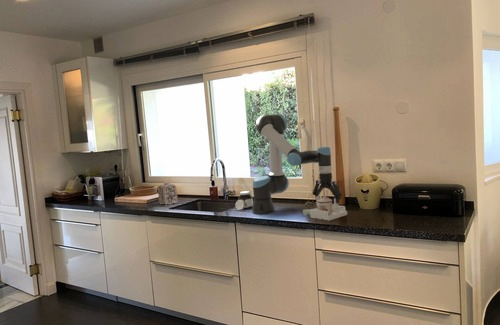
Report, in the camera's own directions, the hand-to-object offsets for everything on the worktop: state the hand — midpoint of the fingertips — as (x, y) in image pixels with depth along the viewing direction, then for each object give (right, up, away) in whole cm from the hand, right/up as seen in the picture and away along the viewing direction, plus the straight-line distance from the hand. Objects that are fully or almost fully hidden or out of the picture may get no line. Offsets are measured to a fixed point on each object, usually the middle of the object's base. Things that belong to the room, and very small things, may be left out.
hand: (327, 207), depth 232 cm
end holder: (0, -5, 0) cm, 5 cm away
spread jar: (-51, -6, +43) cm, 67 cm away
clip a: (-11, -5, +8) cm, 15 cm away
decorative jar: (-115, -7, +87) cm, 144 cm away
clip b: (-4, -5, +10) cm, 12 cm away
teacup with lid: (0, -5, +1) cm, 5 cm away
